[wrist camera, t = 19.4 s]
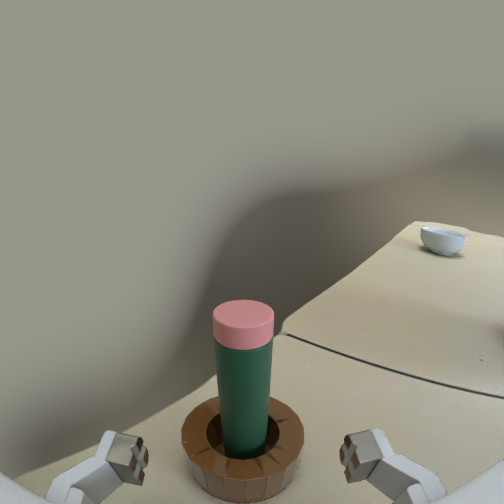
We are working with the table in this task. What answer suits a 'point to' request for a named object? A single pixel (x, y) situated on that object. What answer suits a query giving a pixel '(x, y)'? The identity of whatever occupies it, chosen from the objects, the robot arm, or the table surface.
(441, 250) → the cereal bowl
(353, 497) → the table surface
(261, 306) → the pink-capped green cylinder
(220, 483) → the brown hollow cylinder
